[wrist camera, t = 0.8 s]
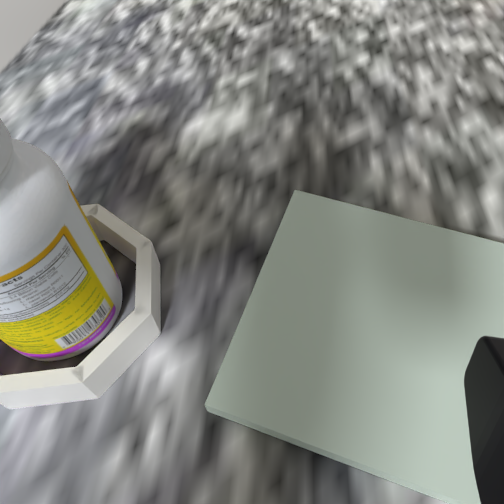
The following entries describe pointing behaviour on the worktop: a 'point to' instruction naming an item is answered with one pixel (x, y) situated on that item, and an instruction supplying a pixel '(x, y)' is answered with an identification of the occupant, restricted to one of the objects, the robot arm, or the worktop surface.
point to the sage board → (366, 343)
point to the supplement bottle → (49, 261)
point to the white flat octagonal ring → (115, 344)
